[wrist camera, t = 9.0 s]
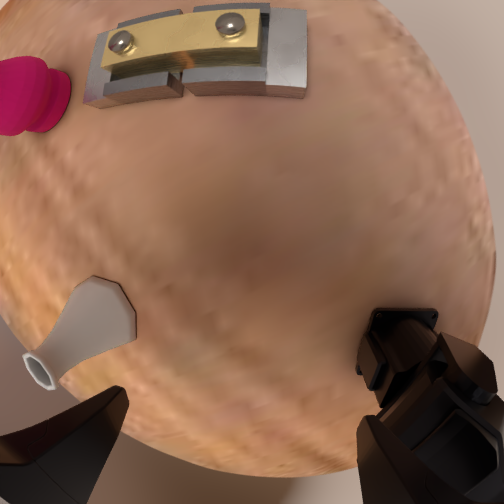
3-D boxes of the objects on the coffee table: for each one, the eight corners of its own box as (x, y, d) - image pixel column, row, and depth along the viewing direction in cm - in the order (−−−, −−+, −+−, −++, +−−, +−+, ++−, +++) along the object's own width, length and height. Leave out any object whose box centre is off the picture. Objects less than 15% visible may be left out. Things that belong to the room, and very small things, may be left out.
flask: (68, 277, 21) (-6, 321, 12) (125, 271, 21) (44, 330, 11) (91, 342, 23) (35, 400, 14) (148, 346, 22) (94, 422, 13)
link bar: (125, 80, 15) (95, 65, 12) (132, 48, 15) (104, 28, 11) (260, 69, 15) (255, 42, 11) (263, 34, 14) (258, 3, 10)
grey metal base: (303, 26, 14) (307, 5, 11) (302, 98, 16) (307, 84, 13) (112, 43, 15) (93, 32, 12) (100, 108, 17) (77, 102, 14)
